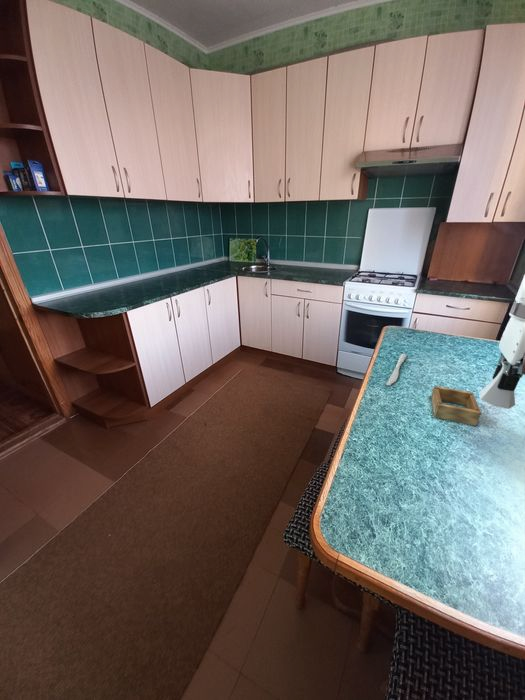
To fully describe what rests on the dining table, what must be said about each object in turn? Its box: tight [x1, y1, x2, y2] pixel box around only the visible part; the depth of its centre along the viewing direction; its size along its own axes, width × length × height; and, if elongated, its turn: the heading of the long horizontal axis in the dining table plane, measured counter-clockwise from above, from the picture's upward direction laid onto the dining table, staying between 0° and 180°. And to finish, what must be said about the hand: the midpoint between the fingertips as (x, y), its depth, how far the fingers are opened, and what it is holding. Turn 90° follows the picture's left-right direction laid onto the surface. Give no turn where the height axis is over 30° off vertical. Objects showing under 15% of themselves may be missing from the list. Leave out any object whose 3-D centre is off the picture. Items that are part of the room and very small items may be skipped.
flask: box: [478, 361, 519, 410], centre depth 69 cm, size 7×7×10 cm
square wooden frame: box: [430, 385, 482, 426], centre depth 87 cm, size 10×10×4 cm
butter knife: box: [385, 353, 408, 386], centre depth 109 cm, size 1×27×3 cm
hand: (502, 384), depth 69 cm, fingers closed on flask, 3 cm apart
